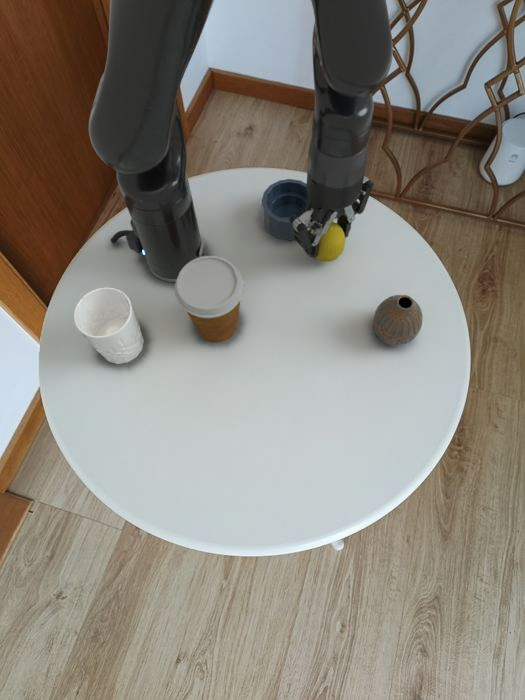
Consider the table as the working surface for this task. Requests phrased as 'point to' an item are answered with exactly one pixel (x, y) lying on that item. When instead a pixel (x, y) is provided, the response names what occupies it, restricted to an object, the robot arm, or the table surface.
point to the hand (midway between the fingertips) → (326, 243)
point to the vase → (398, 320)
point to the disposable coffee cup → (211, 296)
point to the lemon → (331, 243)
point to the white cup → (110, 324)
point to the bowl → (283, 206)
